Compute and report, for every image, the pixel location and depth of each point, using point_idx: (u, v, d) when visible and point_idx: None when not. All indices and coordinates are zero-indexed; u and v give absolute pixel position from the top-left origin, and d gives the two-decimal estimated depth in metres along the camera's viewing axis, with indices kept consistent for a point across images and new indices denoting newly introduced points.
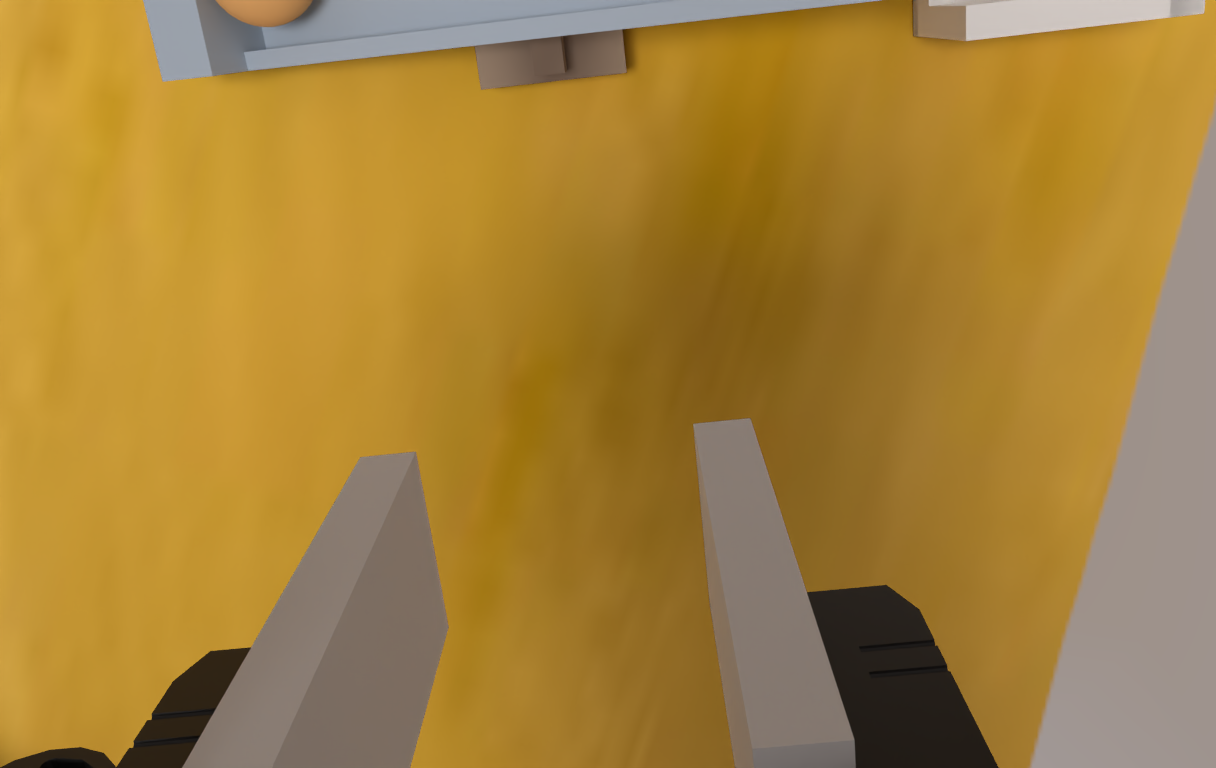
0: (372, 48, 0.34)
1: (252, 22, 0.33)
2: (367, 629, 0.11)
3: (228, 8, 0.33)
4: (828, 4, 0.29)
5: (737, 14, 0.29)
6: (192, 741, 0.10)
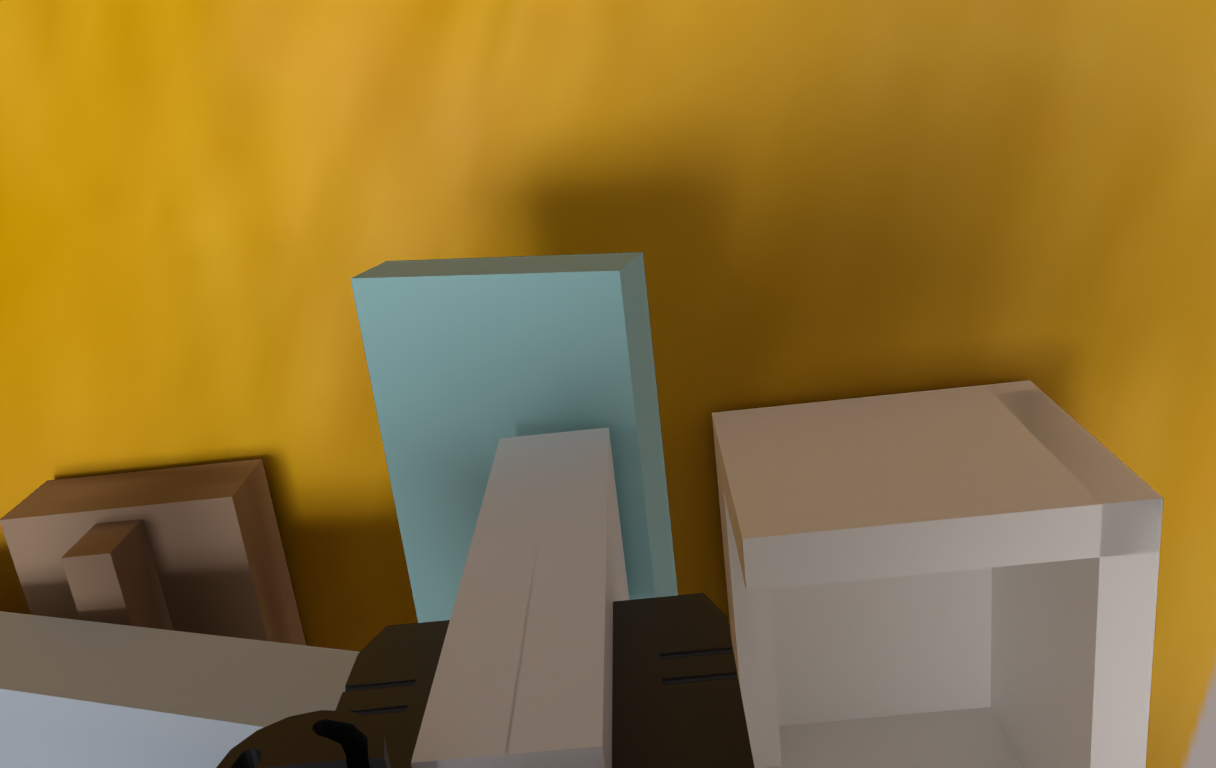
0: None
1: None
2: None
3: None
4: None
5: None
6: (393, 711, 0.10)
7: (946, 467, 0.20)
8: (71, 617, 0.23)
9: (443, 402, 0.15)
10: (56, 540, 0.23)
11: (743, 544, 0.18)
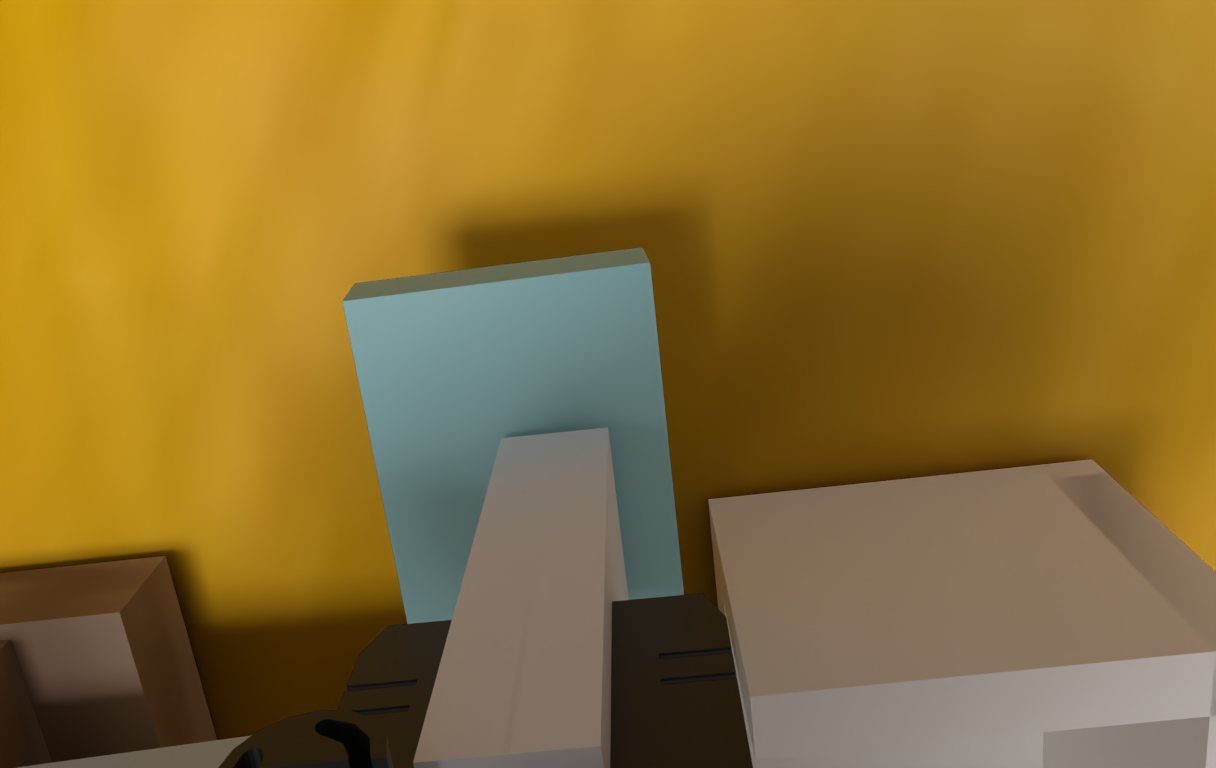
0: None
1: None
2: None
3: None
4: None
5: None
6: (395, 711, 0.10)
7: (1005, 586, 0.16)
8: None
9: (452, 423, 0.14)
10: None
11: (751, 703, 0.14)
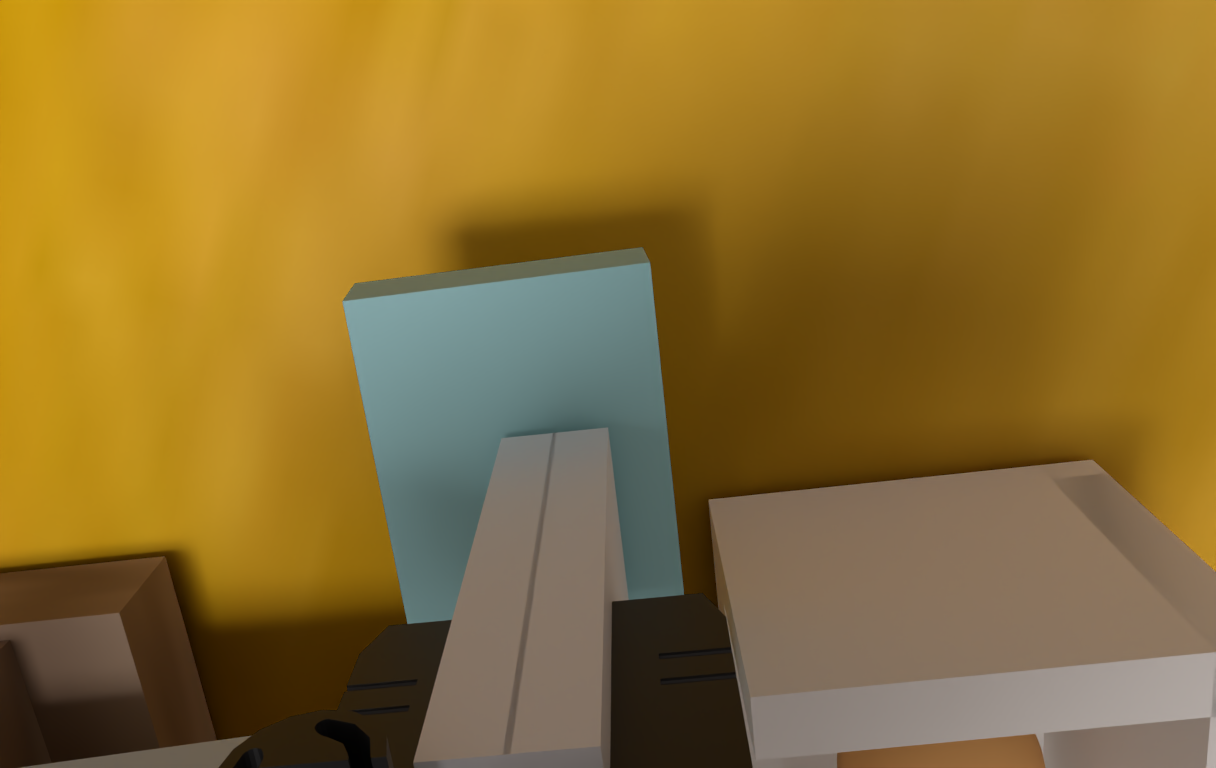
0: None
1: None
2: None
3: None
4: None
5: None
6: (395, 711, 0.10)
7: (1005, 587, 0.16)
8: None
9: (452, 422, 0.14)
10: None
11: (751, 703, 0.14)
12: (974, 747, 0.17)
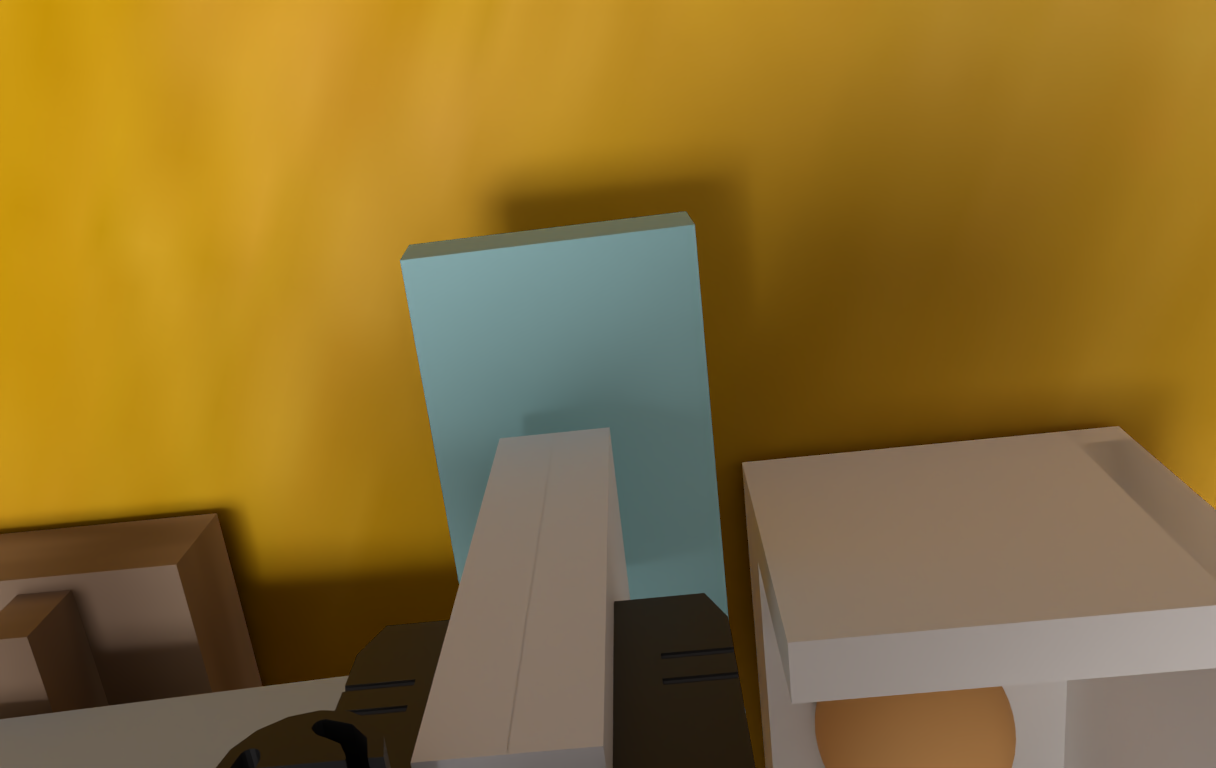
0: None
1: None
2: None
3: None
4: None
5: None
6: (392, 711, 0.10)
7: (1033, 543, 0.16)
8: None
9: (503, 379, 0.15)
10: None
11: (788, 649, 0.15)
12: (907, 707, 0.18)
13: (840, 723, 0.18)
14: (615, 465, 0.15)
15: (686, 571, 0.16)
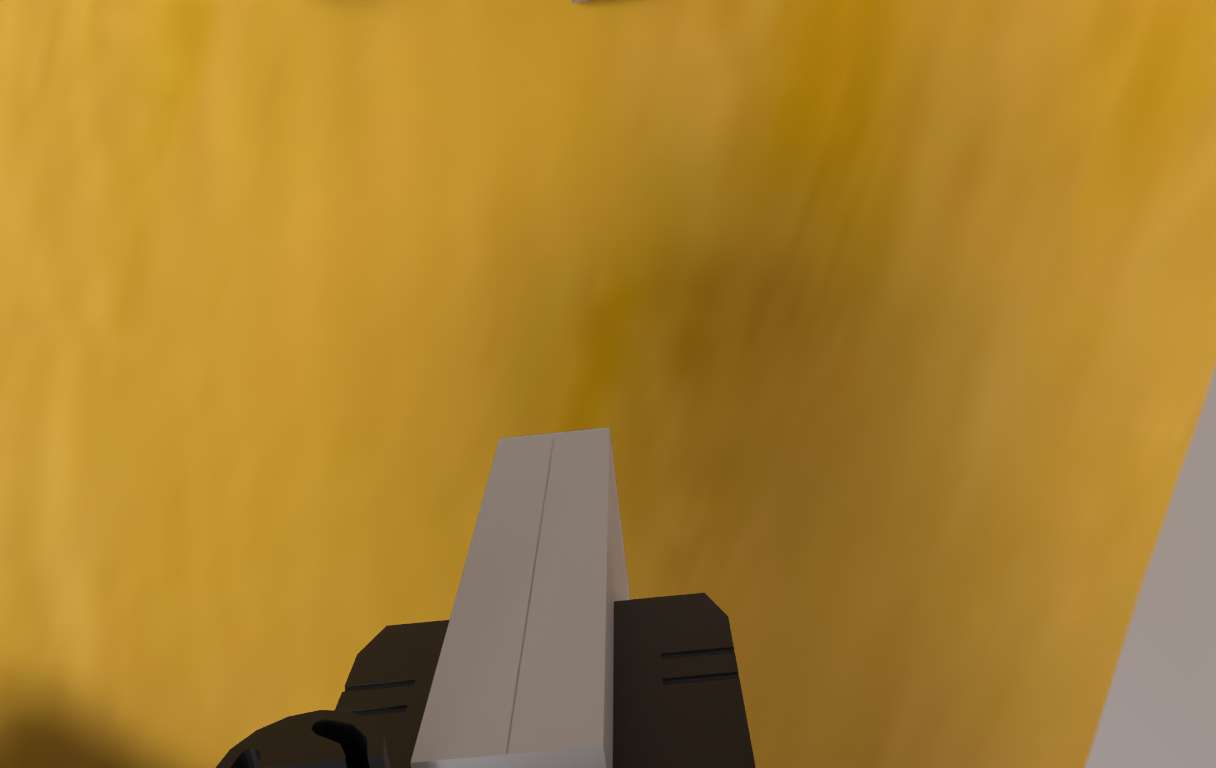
0: None
1: None
2: None
3: None
4: None
5: None
6: (392, 711, 0.10)
7: None
8: None
9: None
10: None
11: None
12: None
13: None
14: None
15: None
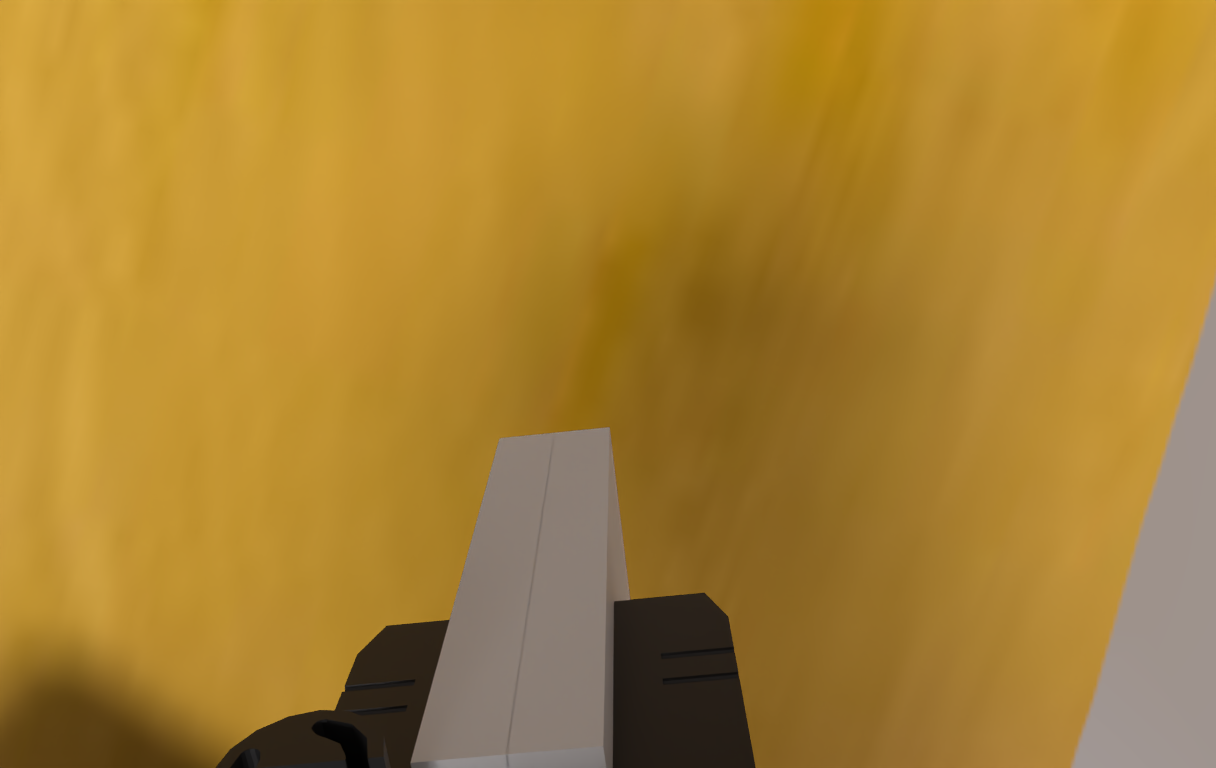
0: None
1: None
2: None
3: None
4: None
5: None
6: (392, 711, 0.10)
7: None
8: None
9: None
10: None
11: None
12: None
13: None
14: None
15: None
